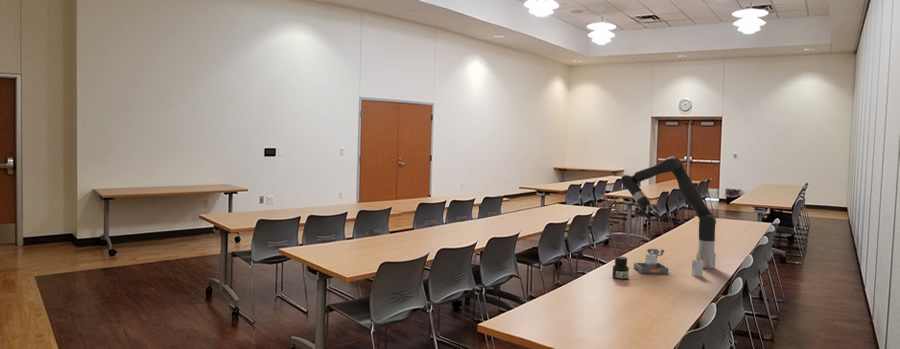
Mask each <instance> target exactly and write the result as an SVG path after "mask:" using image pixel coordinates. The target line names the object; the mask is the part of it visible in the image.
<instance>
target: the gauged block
mask: <svg viewBox="0 0 900 349" xmlns="http://www.w3.org/2000/svg"><path fill="white" fill-rule="evenodd" d="M695 255H696V256H695V258H692V261H691V276H692V277H696V278H699V277H700V278H701V277H703V275H704V274H703V273H704V268H703V260H701V259H700V253H698V252H696V254H695Z"/></svg>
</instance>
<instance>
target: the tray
mask: <svg viewBox="0 0 900 349" xmlns="http://www.w3.org/2000/svg"><path fill="white" fill-rule="evenodd" d="M633 269H634V270H635V271H637V272H638V273H640V274H641V275H669V267H667V266H666V265H664V264H662V263H660V262H657V263H656V268H645V262H633Z"/></svg>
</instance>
